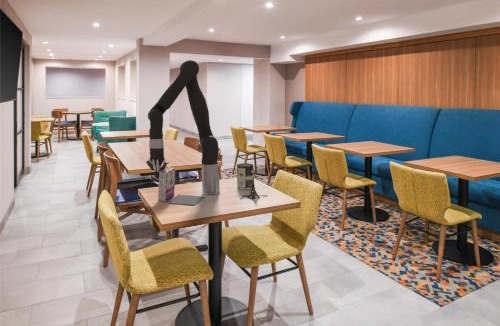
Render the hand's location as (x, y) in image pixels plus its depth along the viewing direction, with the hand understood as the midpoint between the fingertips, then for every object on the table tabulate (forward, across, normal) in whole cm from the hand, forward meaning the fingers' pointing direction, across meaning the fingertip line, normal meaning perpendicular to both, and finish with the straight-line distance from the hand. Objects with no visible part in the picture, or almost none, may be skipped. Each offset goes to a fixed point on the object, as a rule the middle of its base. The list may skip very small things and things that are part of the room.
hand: (158, 178), depth 205 cm
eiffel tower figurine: (+12, -51, -14) cm, 54 cm away
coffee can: (+11, -40, -35) cm, 54 cm away
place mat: (+11, -17, 0) cm, 20 cm away
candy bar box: (+11, -4, 0) cm, 12 cm away
